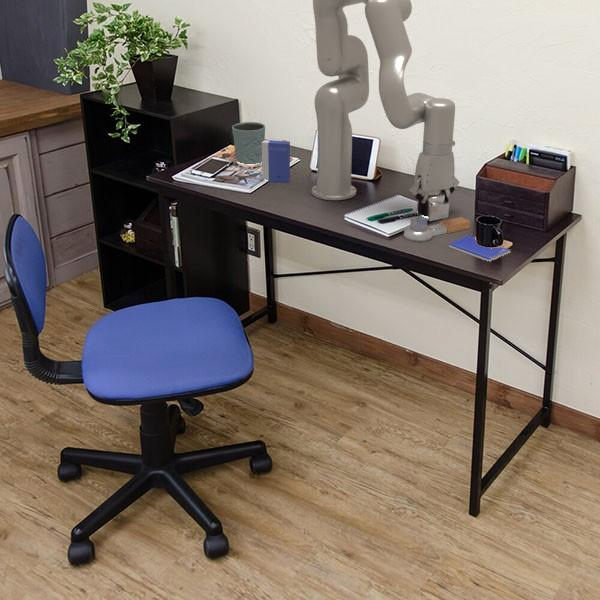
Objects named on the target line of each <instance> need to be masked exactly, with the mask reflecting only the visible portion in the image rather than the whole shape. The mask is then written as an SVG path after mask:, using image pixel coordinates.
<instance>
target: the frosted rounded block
mask: <svg viewBox="0 0 600 600" xmlns="http://www.w3.org/2000/svg"><path fill="white" fill-rule="evenodd" d="M423 195H424V193H423ZM423 195H422V196H423ZM416 202H417V203H416V211H417V210H418V200H417V199H416ZM426 203H428V205H427V216H428V217H429V220H428V221H429V222H433V221H438V220H442V219H448V218H449V213H450V212H449V211H450V202H449V201H448V202H446V201H445V194H444V193H443V192H440V191H435V192H430V193H429V195H428V198H427V200H426Z"/></svg>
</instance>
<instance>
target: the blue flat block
mask: <svg viewBox="0 0 600 600" xmlns="http://www.w3.org/2000/svg"><path fill="white" fill-rule="evenodd" d="M475 238H476V237H475V236H472V235H468V236H465V237H462V238H460V239H457V240H454V241H451V242H450V243H449V248H452V249H455V250H457V251H459V252H463V253H464V254H468V255H470V256H473V257H475V258H478V259H480V260H483V261H485V260H486V262H488V261H489V263H490V262H493V261H495V260H497V259H499V257H500V258H502V257H504V255H505V256H507V255H509V254H511V249H509V248H507V247H503V246H501V247H502V248H501V247H500V248H492V249H491V248H489V247H485V246H481V245H479V244H477V243H476V240H475ZM508 253H509V254H508ZM506 254H507V255H506ZM501 256H502V257H501ZM492 260H493V261H492Z"/></svg>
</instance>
